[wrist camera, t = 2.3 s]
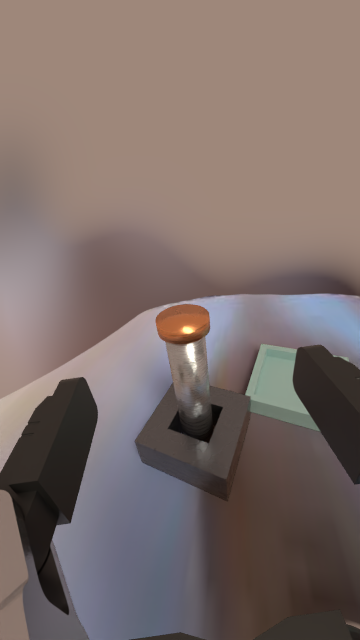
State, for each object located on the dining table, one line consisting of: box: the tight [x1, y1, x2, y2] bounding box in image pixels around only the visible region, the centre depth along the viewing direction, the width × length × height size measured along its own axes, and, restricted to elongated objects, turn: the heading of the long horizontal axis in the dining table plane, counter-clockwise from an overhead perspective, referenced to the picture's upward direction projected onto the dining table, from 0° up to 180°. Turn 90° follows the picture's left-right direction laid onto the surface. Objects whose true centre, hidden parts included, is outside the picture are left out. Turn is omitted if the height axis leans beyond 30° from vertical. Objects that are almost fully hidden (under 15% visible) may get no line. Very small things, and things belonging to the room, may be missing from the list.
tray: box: [245, 344, 349, 432], centre depth 34 cm, size 12×12×2 cm
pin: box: [156, 304, 213, 444], centre depth 25 cm, size 5×5×17 cm
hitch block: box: [135, 384, 251, 501], centre depth 28 cm, size 10×10×4 cm
